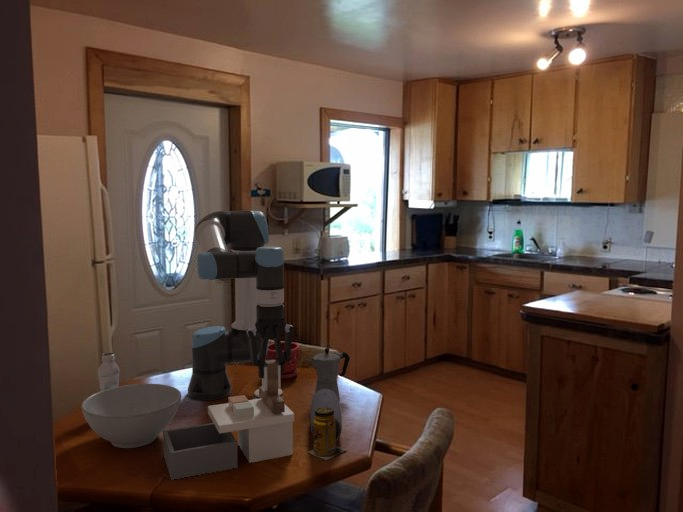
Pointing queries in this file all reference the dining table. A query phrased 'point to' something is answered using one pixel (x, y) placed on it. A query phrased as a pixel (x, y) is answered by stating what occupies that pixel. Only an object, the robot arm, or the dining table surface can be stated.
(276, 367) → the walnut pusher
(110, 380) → the plastic bottle
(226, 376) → the robot arm
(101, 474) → the dining table surface
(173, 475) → the box
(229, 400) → the terracotta tile
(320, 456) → the condiment
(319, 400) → the bluetooth speaker
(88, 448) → the dining table surface
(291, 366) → the plant pot
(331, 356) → the coffeepot
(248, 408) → the sage tile
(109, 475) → the dining table surface
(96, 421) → the decorative bowl
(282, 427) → the board
